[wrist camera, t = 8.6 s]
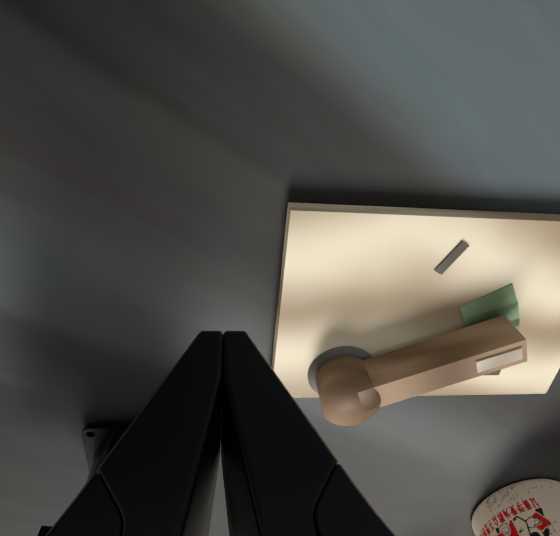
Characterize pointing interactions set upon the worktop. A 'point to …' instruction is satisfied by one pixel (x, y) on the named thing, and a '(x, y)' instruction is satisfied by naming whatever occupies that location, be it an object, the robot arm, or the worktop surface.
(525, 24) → the worktop surface
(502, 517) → the teacup with lid
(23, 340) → the worktop surface
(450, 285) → the dial plate
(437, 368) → the walnut lever
